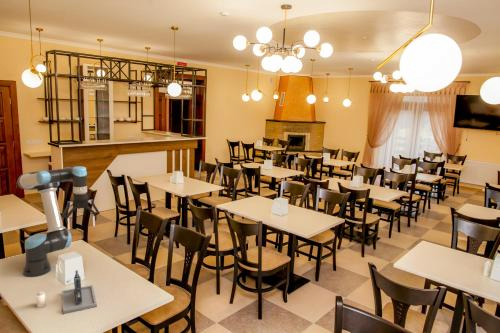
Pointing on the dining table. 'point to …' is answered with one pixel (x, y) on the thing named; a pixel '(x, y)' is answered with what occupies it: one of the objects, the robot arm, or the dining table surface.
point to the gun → (77, 288)
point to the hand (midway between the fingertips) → (81, 227)
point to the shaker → (40, 299)
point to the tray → (70, 301)
